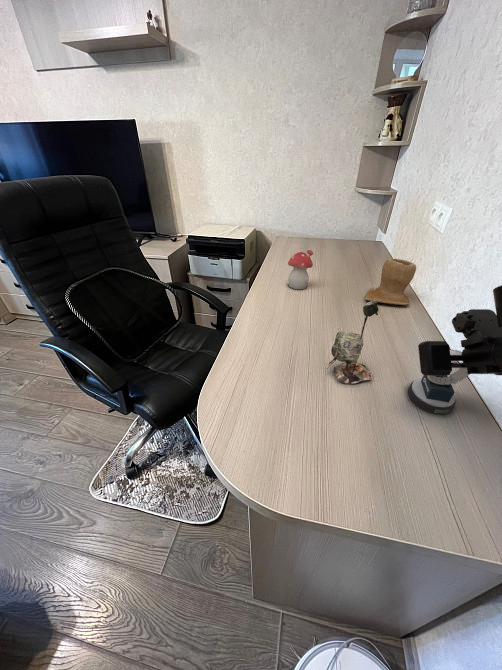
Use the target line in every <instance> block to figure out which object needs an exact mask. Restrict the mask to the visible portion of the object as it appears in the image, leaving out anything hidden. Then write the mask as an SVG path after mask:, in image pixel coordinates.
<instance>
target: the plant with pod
mask: <svg viewBox="0 0 502 670" xmlns="http://www.w3.org/2000/svg"><path fill="white" fill-rule="evenodd" d="M362 313H363V315H364V316H365V317H364V320H363V324H362V327H361V328H362V329H361V334H360V333H356V332H352V331H347V330H342V331H338V330H340V328H337V333H336V335H335V339H334V343H333V345H332V346H331V349H330V351H331V352H330V353H331V356H332V357H333V359H332V360H330V362H329V363H328V365H326V368H325V370H329V368H330V367H331V366H332V365H333V364H334V363H335V362H336V361H338V362H341V364H336V365H334V366H333V372H334V375H335V377H336V379H337V381H338V382H340V383H342V384H357V383H360V382H364V381H370V380H371V379H372V375H371V374H372V372H369V369H368V368H367V365H365V364H363V363H358V360H359V358H360V355H362V350H363V347H364V338H363V335H364V330H365V328H366V324H367V320H368V317H369V318H370V317H372V316H374V315H375V316H379V306H378V302H376V301H375V300H373V301H368V302H366V303H364V305H363V306H362Z"/></svg>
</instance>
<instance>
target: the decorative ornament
mask: <svg viewBox="0 0 502 670" xmlns="http://www.w3.org/2000/svg"><path fill="white" fill-rule="evenodd" d="M313 255H314V251H313V250H312V249H308V250H306V252H302V251H300V252H296V253H294V254H293V255H292V256H291V257H290V258H289V260H288V262H287V265H288V266H290V267H292V268H293V269H292V270H291V271H290V273H289V274H288V287H289V288H291V289H293V290H305V289H306V287H307V285H308V283H309V280H310V279H309V278H310V276H309V273H308V271H307V270H308V269H312V268H313V266H314V263H313V260H312V258H311V256H313Z"/></svg>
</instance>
